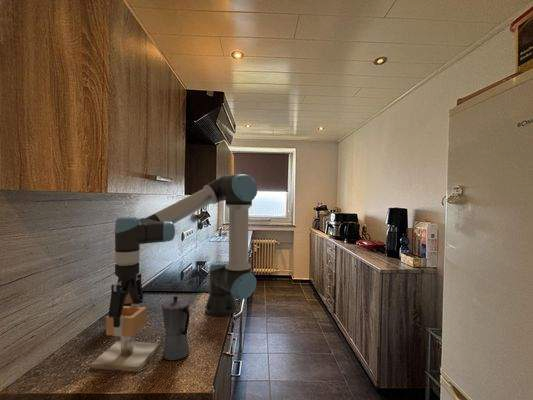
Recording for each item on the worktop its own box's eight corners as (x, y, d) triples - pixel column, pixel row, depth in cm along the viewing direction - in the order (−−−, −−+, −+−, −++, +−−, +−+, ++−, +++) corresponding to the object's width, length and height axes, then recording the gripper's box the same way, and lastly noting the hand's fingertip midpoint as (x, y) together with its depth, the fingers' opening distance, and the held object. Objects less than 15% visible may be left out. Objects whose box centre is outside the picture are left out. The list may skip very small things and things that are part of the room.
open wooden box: (122, 322, 101) (122, 305, 101) (146, 323, 100) (146, 307, 100) (106, 335, 92) (106, 316, 92) (132, 336, 91) (132, 318, 91)
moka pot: (176, 341, 107) (177, 289, 106) (202, 356, 97) (202, 299, 97) (153, 352, 99) (153, 296, 99) (178, 369, 90) (178, 307, 89)
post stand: (117, 344, 104) (117, 316, 104) (159, 347, 102) (159, 319, 102) (90, 368, 90) (90, 335, 90) (138, 371, 88) (138, 338, 88)
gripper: (134, 255, 107) (134, 314, 107) (94, 271, 85) (94, 344, 85) (153, 256, 106) (153, 315, 106) (118, 272, 84) (117, 346, 85)
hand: (127, 328), depth 96 cm, fingers closed on open wooden box, 9 cm apart
